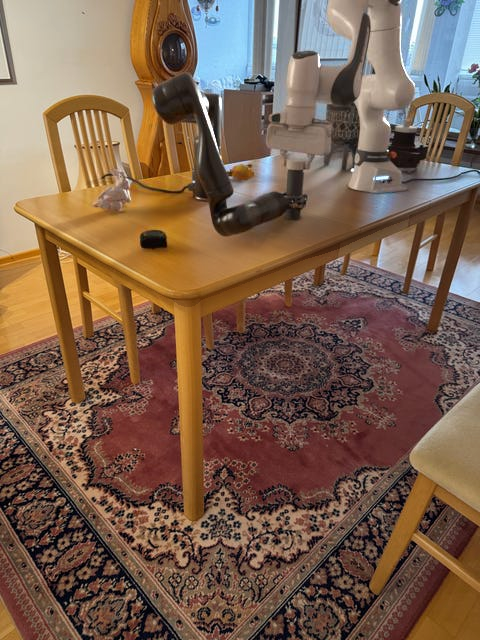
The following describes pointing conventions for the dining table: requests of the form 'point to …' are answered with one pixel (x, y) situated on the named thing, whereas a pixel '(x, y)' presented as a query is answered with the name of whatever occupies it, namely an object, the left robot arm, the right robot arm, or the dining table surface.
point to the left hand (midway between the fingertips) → (298, 195)
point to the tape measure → (153, 239)
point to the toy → (242, 172)
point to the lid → (295, 163)
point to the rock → (340, 150)
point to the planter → (343, 131)
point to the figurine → (115, 193)
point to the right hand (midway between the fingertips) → (295, 167)
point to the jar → (294, 191)
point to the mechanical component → (407, 148)
